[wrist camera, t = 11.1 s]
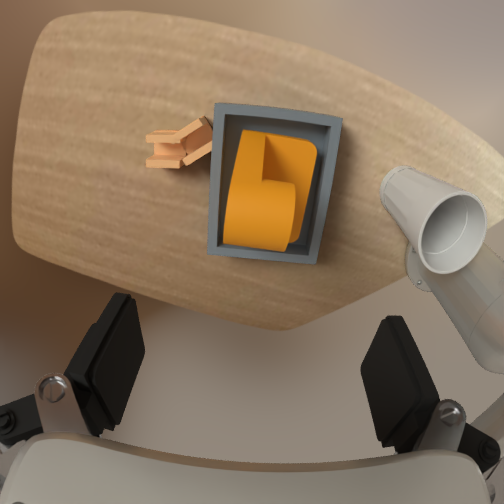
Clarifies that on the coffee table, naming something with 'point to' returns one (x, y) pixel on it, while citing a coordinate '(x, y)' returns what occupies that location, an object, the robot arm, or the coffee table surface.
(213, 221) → the gray tray
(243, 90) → the coffee table surface
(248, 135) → the bracket
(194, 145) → the clip
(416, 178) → the cup
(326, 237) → the coffee table surface
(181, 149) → the clip
